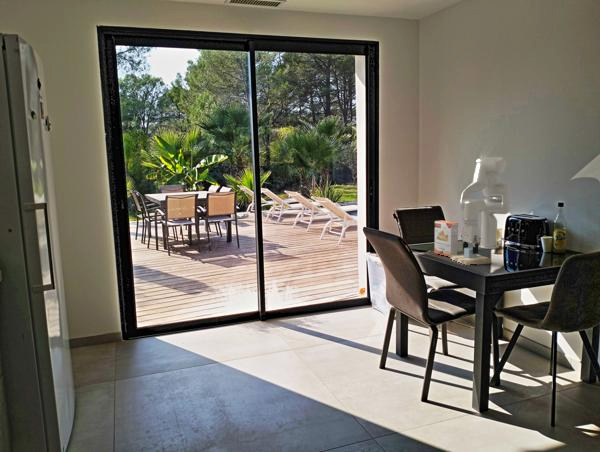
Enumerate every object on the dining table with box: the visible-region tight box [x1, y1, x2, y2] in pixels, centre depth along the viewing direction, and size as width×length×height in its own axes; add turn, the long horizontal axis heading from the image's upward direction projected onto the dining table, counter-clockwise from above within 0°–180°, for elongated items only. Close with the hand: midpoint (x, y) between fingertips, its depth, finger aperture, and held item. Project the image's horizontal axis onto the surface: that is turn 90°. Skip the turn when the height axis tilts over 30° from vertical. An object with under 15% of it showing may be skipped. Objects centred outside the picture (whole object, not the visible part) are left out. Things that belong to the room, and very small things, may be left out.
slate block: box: [463, 246, 477, 258], centre depth 277 cm, size 5×5×5 cm
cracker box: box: [433, 219, 459, 258], centre depth 292 cm, size 14×6×21 cm, turn 27°
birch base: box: [449, 253, 492, 266], centre depth 277 cm, size 16×16×2 cm
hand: (470, 251), depth 276 cm, fingers open, 9 cm apart
